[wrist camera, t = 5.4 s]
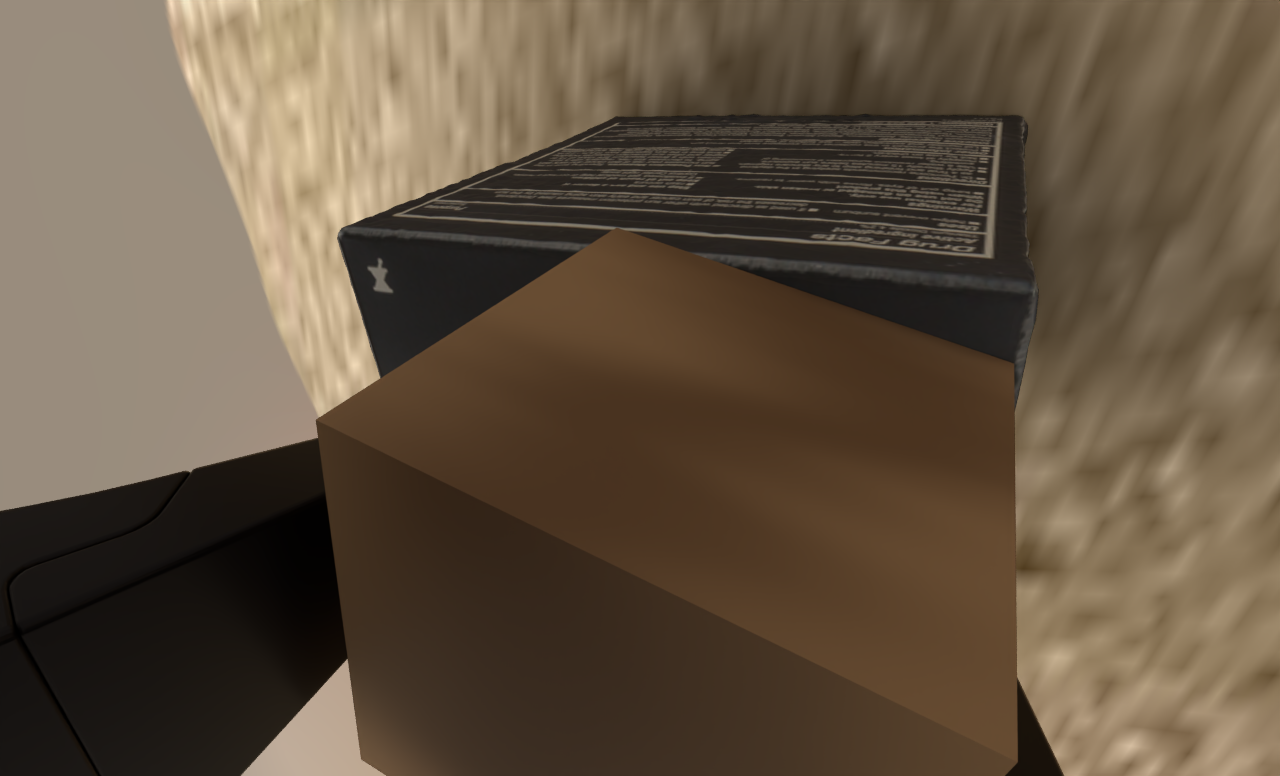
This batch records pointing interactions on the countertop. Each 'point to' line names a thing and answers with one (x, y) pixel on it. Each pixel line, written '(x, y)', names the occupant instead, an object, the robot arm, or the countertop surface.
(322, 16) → the countertop surface
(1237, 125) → the countertop surface
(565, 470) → the block
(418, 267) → the small box
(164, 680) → the robot arm
